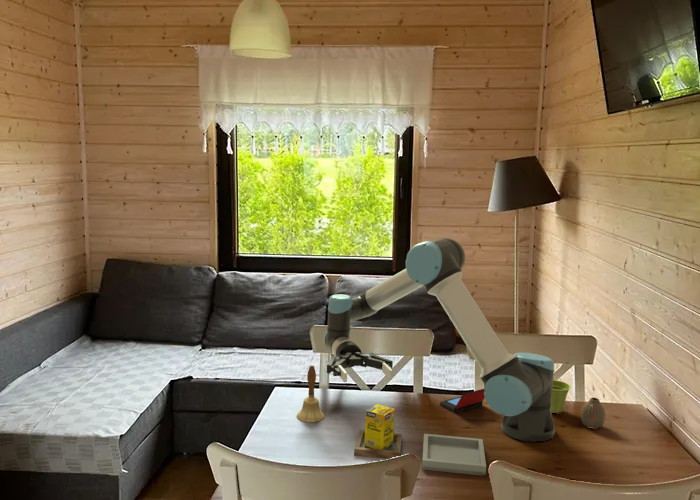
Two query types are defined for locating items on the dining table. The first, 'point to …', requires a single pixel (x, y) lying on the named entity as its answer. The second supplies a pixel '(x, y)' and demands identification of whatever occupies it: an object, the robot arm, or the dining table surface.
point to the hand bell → (311, 402)
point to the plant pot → (558, 395)
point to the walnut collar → (377, 452)
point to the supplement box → (379, 427)
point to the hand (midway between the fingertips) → (368, 376)
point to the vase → (593, 413)
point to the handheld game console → (464, 401)
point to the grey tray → (453, 454)
